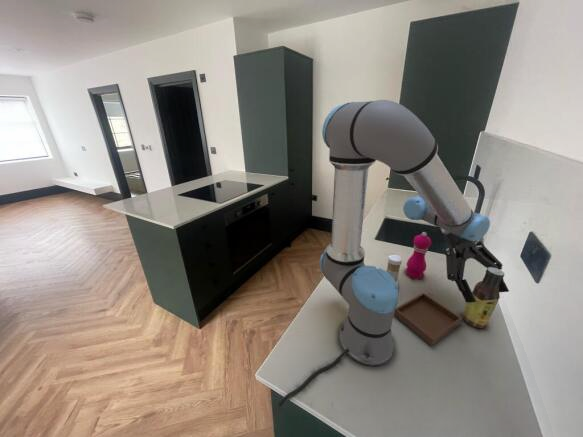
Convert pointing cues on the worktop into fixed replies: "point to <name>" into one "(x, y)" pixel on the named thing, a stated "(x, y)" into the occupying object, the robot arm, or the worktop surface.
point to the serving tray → (427, 318)
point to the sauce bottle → (484, 299)
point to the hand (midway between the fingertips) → (487, 297)
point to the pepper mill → (418, 256)
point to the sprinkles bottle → (394, 266)
